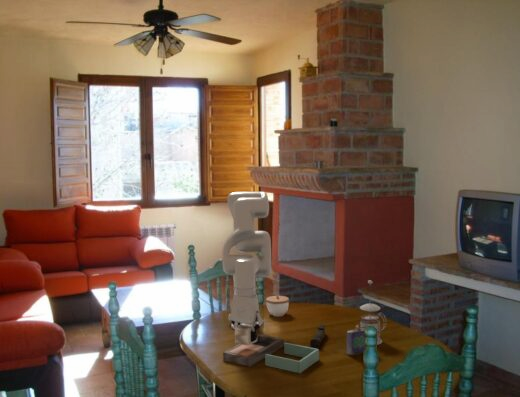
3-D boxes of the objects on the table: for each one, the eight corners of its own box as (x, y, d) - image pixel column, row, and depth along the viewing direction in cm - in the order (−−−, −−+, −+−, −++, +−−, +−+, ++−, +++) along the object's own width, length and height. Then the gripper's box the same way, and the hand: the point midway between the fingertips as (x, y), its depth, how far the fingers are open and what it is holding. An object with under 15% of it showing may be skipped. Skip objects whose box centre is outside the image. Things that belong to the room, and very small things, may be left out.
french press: (365, 335, 229) (365, 276, 227) (390, 341, 221) (391, 280, 219) (353, 341, 221) (353, 280, 219) (379, 347, 214) (379, 284, 212)
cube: (235, 342, 204) (234, 327, 203) (244, 338, 209) (243, 322, 208) (248, 345, 201) (248, 329, 200) (257, 340, 206) (257, 325, 205)
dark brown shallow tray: (223, 360, 203) (223, 351, 203) (258, 341, 223) (258, 333, 223) (250, 366, 197) (250, 357, 197) (283, 346, 217) (283, 338, 217)
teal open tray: (265, 365, 198) (265, 354, 197) (285, 352, 210) (285, 342, 210) (300, 373, 190) (300, 362, 190) (318, 359, 202) (318, 349, 202)
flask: (348, 355, 206) (348, 328, 205) (345, 353, 209) (345, 325, 208) (370, 352, 209) (370, 325, 208) (366, 350, 212) (366, 323, 211)
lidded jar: (261, 315, 259) (261, 295, 259) (275, 310, 268) (275, 291, 267) (279, 319, 253) (279, 299, 252) (293, 314, 261) (293, 294, 260)
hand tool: (319, 349, 214) (319, 338, 213) (309, 348, 215) (309, 337, 215) (329, 334, 231) (329, 323, 231) (320, 333, 233) (320, 322, 232)
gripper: (220, 291, 205) (221, 338, 206) (259, 296, 196) (260, 346, 197) (232, 287, 211) (233, 332, 213) (270, 292, 202) (271, 340, 203)
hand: (246, 338), depth 205 cm, fingers closed on cube, 6 cm apart
